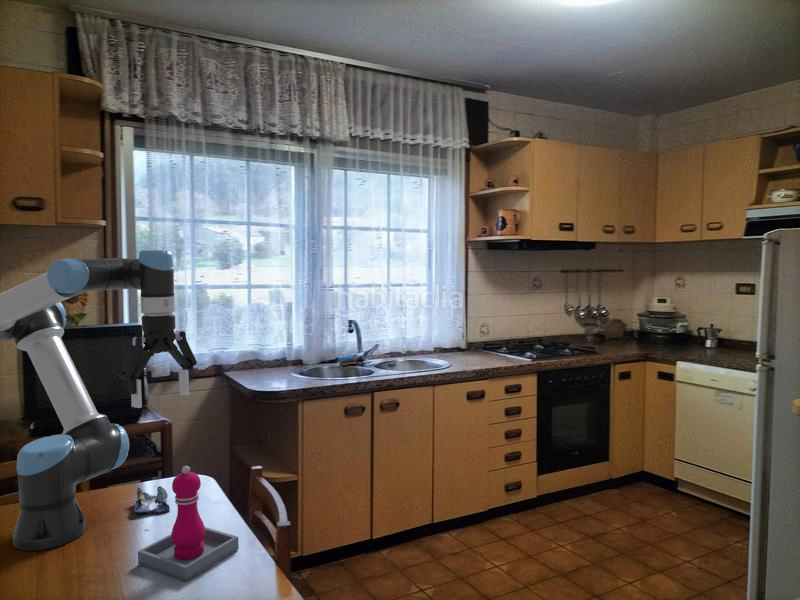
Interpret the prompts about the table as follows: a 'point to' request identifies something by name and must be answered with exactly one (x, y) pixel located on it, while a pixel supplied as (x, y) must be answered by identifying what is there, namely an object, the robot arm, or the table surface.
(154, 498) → the snack package
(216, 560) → the tray
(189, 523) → the pepper mill
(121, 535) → the table surface
